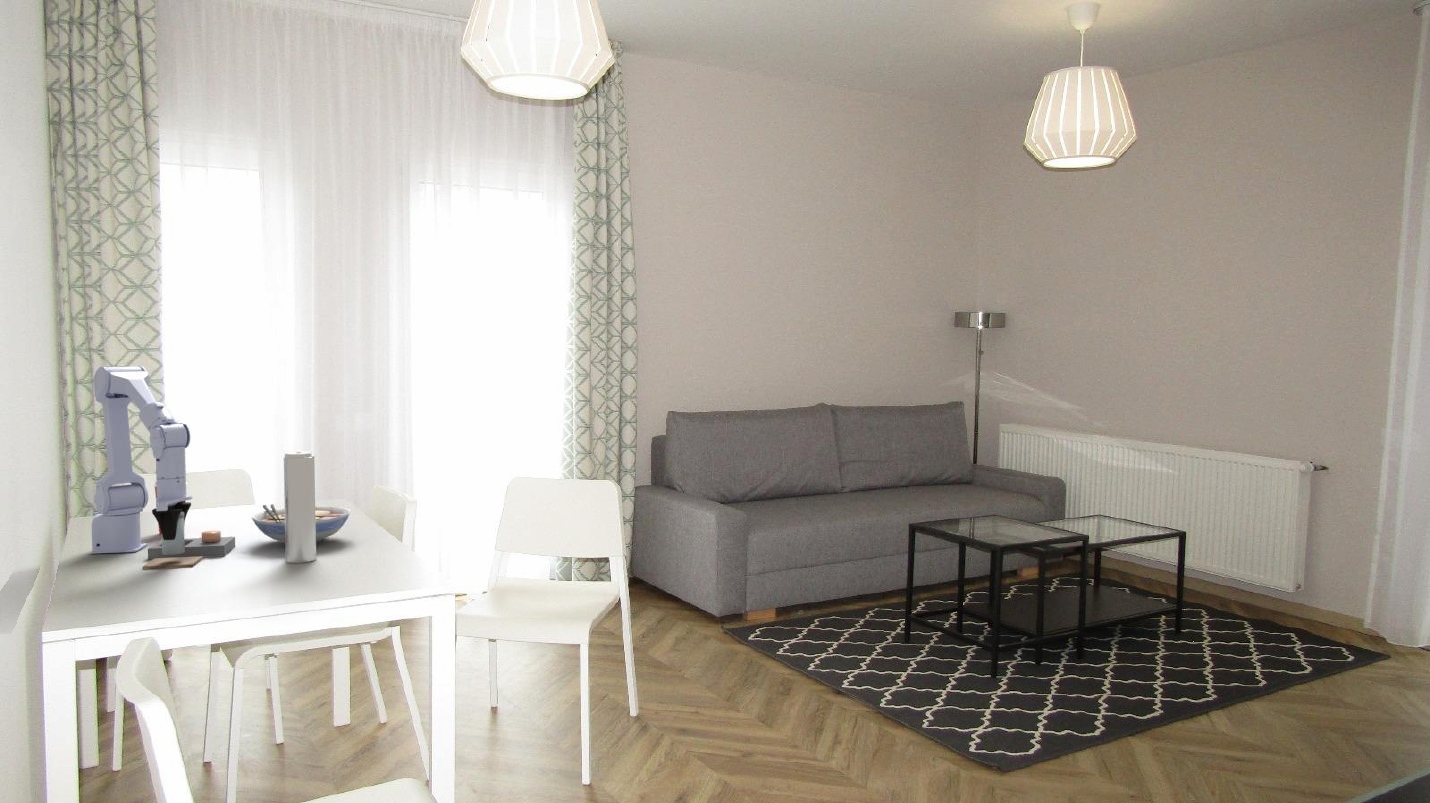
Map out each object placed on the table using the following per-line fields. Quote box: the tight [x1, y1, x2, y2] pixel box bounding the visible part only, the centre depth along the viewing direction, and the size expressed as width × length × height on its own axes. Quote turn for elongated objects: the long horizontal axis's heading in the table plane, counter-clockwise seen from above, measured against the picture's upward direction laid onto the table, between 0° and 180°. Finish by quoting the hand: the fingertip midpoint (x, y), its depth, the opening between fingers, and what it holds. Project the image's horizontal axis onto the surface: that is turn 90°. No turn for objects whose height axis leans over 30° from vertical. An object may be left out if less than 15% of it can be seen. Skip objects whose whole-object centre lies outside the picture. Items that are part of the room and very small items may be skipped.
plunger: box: [201, 530, 222, 542], centre depth 221 cm, size 4×4×2 cm
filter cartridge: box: [161, 511, 185, 555], centre depth 209 cm, size 5×5×9 cm
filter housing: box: [147, 536, 236, 560], centre depth 220 cm, size 16×10×2 cm, turn 104°
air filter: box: [283, 451, 317, 564], centre depth 213 cm, size 6×6×25 cm
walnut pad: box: [142, 556, 204, 570], centre depth 210 cm, size 10×8×1 cm
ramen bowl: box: [251, 504, 352, 544], centre depth 233 cm, size 25×23×8 cm
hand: (172, 537), depth 209 cm, fingers closed on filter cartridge, 4 cm apart
